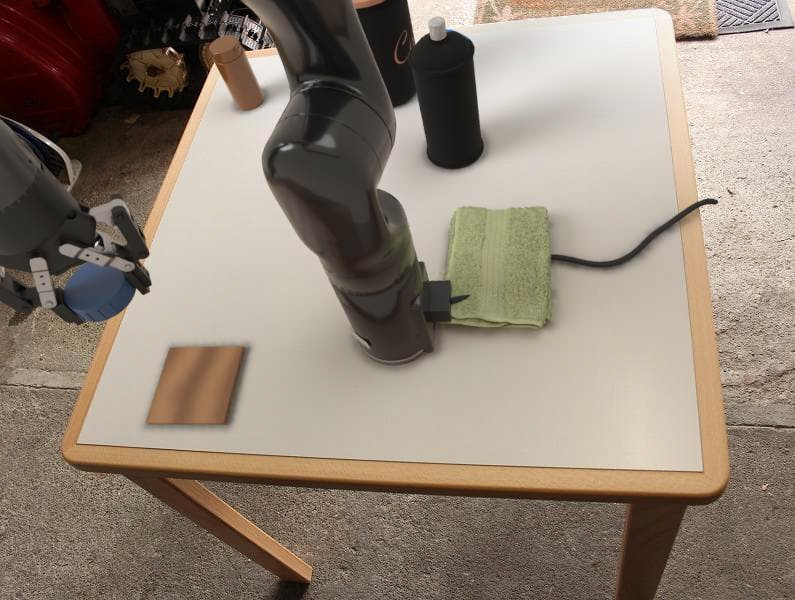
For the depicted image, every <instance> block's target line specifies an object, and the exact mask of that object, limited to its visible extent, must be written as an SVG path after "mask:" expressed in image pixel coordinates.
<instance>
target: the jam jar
mask: <svg viewBox="0 0 795 600" xmlns="http://www.w3.org/2000/svg"><path fill="white" fill-rule="evenodd" d="M208 50H209V52H210V54H211V55H212V57H213V59H212V60H213V62H214V64H215V66H216V68H217V70H218V72H219V75H220V76H221V78H222V80H223V82H224V84H225V86H226V89H227V90H228V93H229V94H230V96H231V98H232V100H233V103H235V106H236V108H237V109H238V110H240V111H244V112H245V111H246V112H247V111H252V110H253V109H256V108H258V107H259V106H260V105H261V104H263V102H264V100H265V94H264V92H263V90H262V87H261V85H260V83H259V81H258V79H257V76H256V74H255V72H254V69H253V67H252V65H251V63H250V61H249V58H248V56H247V54H246V51H245V50H244V47H243V46H242V45H241V42H240V40H239V39H238V37H236V36H235V35H231V34H227V35H223V36H219V37H218V38H216V39H215V40H213V41H212V42H211V43H210V45H209V48H208Z"/></svg>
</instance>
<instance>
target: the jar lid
mask: <svg viewBox="0 0 795 600" xmlns="http://www.w3.org/2000/svg"><path fill="white" fill-rule="evenodd" d="M63 290H64V300H65V302H66V304H67V305H68V307H69V308H70V309H72V310H73V311H74V312H75V313H76V314H77V315H79V316H80V317H81V318H82V319H83V320H86V322H90V323H99V322H104V321H108V320H111V319H112V318H115V317H116V316H118V315H119V314H120V313H122V312H123V311H124V310H125V309H127V307H129V305H130V304H131V302H132V301H133V299H134V297H135V295H136V293H137V289H136V288H135V287H134V285H133V284H132V283H131V282H130V281H129V280H128V279H127V278H126V277H125V276H124V275H123V271H122V270H119V269H116V268H113V267H111V266H106V267H101V266H98V265H96V264H93V263H90V262H87V263H85V264H82V265H81V266H79V268H78V269H76V270H75V271H74V272H73V273H72V275H70V277H69V279H68V280H67V282H66V284H65V286H64V288H63Z"/></svg>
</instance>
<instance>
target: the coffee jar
mask: <svg viewBox="0 0 795 600" xmlns="http://www.w3.org/2000/svg"><path fill="white" fill-rule="evenodd" d="M353 3H354V6H355V9H356V12H357V15H358V18H359V21H360V23H361V26H362V28H363V31H364V34H365V36H366V39H367V41H368V44H369V46H370V48H371V51H372V53H373V56H374V58H375V61H376V63H377V66H378V68H379V71H380V73H381V76H382V78H383V81H384V83H385V86H386V88H387V91H388V93H389V96H390V99H391V102H392V105H393V108H395V107H399V106H402V105H403V104H405V103H407V102H408V101H410V100H411V99H412V98H413V97H414V96H415V95H416V94H417V92H416V86H415V81H414V76H413V71H412V68H411V66H410V65H409V62H408V56H409V53H410V51H411V49H412V48H413V46H414V45H415V44H416V39H415V33H414V27H413V23H412V17H411V13H410V7H409V1H408V0H353Z"/></svg>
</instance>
